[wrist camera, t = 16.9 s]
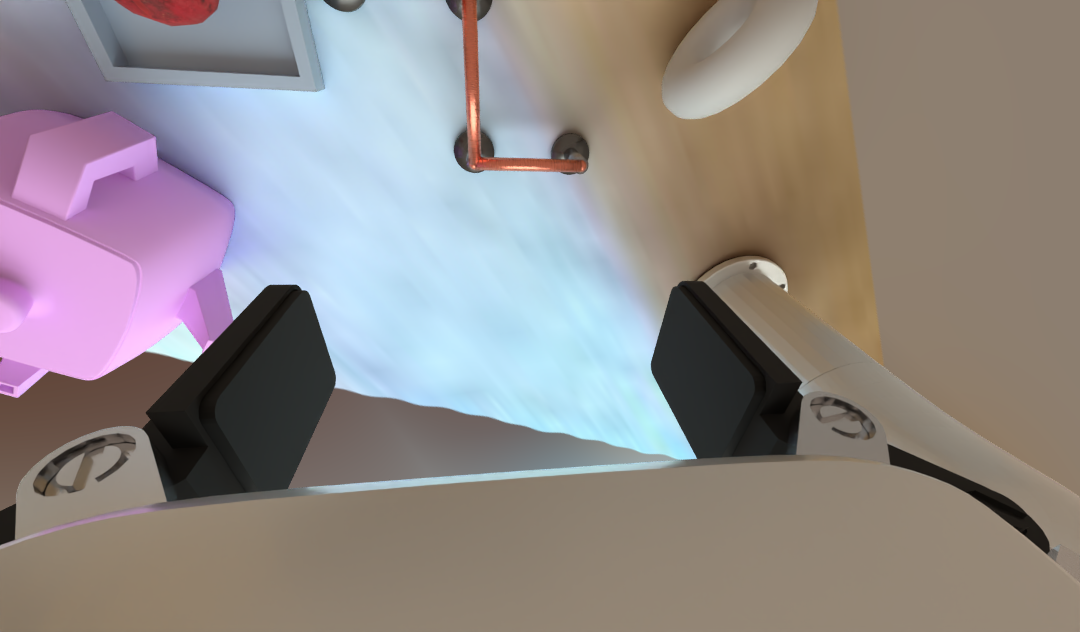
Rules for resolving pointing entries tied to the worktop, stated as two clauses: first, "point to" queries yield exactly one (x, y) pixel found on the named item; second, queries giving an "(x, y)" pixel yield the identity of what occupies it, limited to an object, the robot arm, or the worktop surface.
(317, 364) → the robot arm
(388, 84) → the worktop surface
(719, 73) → the donut
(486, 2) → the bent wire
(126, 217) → the teakettle
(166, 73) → the dish
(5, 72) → the worktop surface
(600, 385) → the worktop surface
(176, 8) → the onion
